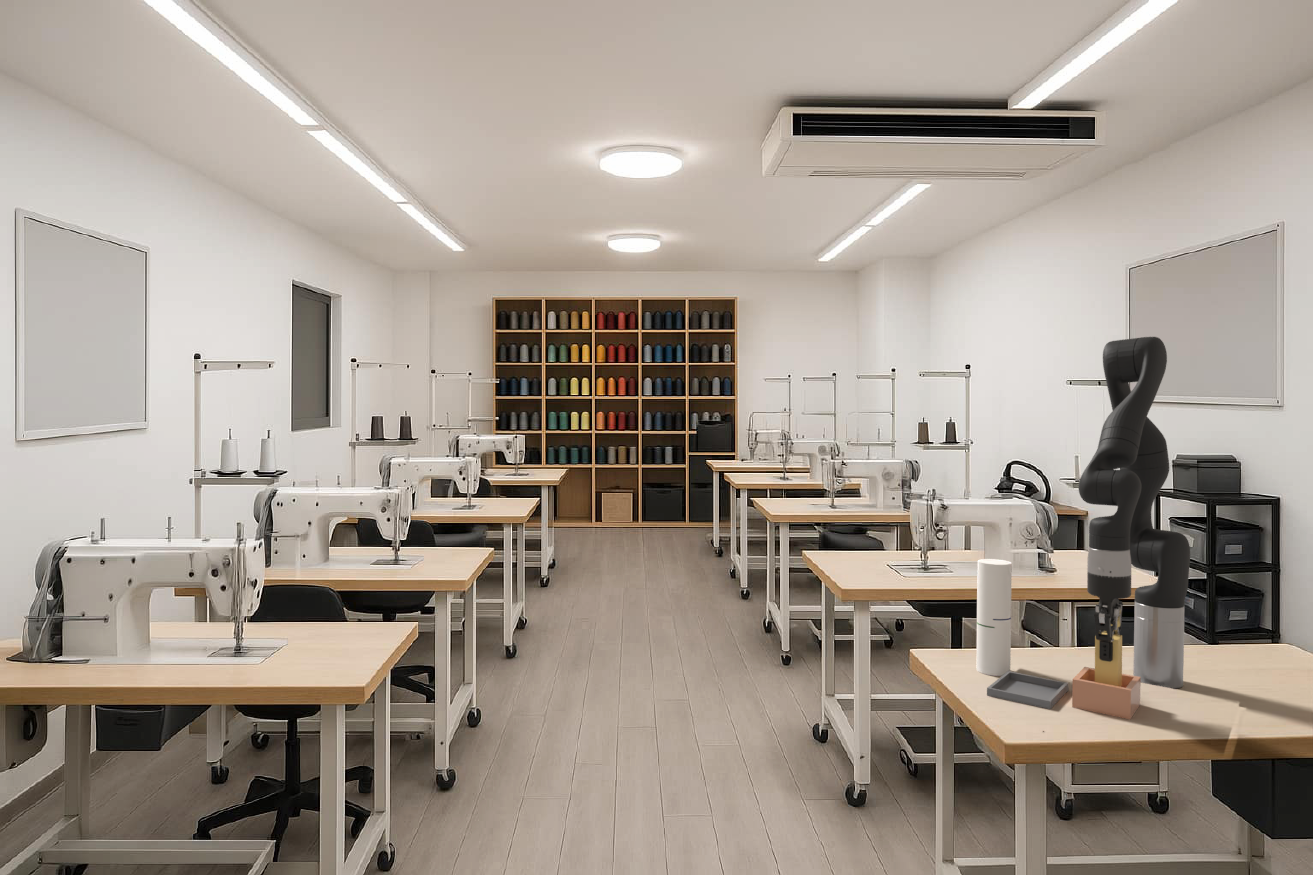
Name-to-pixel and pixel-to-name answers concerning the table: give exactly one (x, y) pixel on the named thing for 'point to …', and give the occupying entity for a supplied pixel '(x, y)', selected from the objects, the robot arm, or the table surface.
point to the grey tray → (1028, 689)
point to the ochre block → (1109, 664)
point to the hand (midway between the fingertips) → (1108, 657)
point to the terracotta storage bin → (1106, 694)
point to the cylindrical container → (993, 616)
